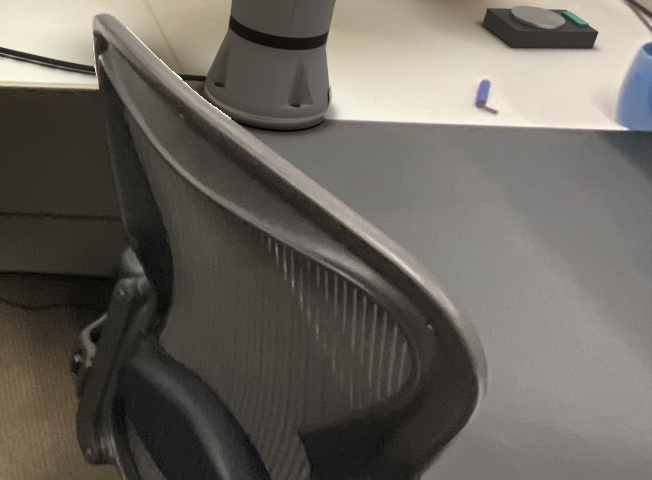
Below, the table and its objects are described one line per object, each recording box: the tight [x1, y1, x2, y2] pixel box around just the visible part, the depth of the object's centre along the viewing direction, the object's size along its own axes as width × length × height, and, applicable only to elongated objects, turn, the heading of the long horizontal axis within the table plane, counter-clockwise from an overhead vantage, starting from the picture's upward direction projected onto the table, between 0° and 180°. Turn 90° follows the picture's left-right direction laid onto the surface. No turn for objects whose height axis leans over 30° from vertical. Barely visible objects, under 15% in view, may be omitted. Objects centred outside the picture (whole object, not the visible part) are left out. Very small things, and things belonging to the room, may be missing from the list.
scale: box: [482, 5, 599, 49], centre depth 164 cm, size 14×9×3 cm, turn 108°
